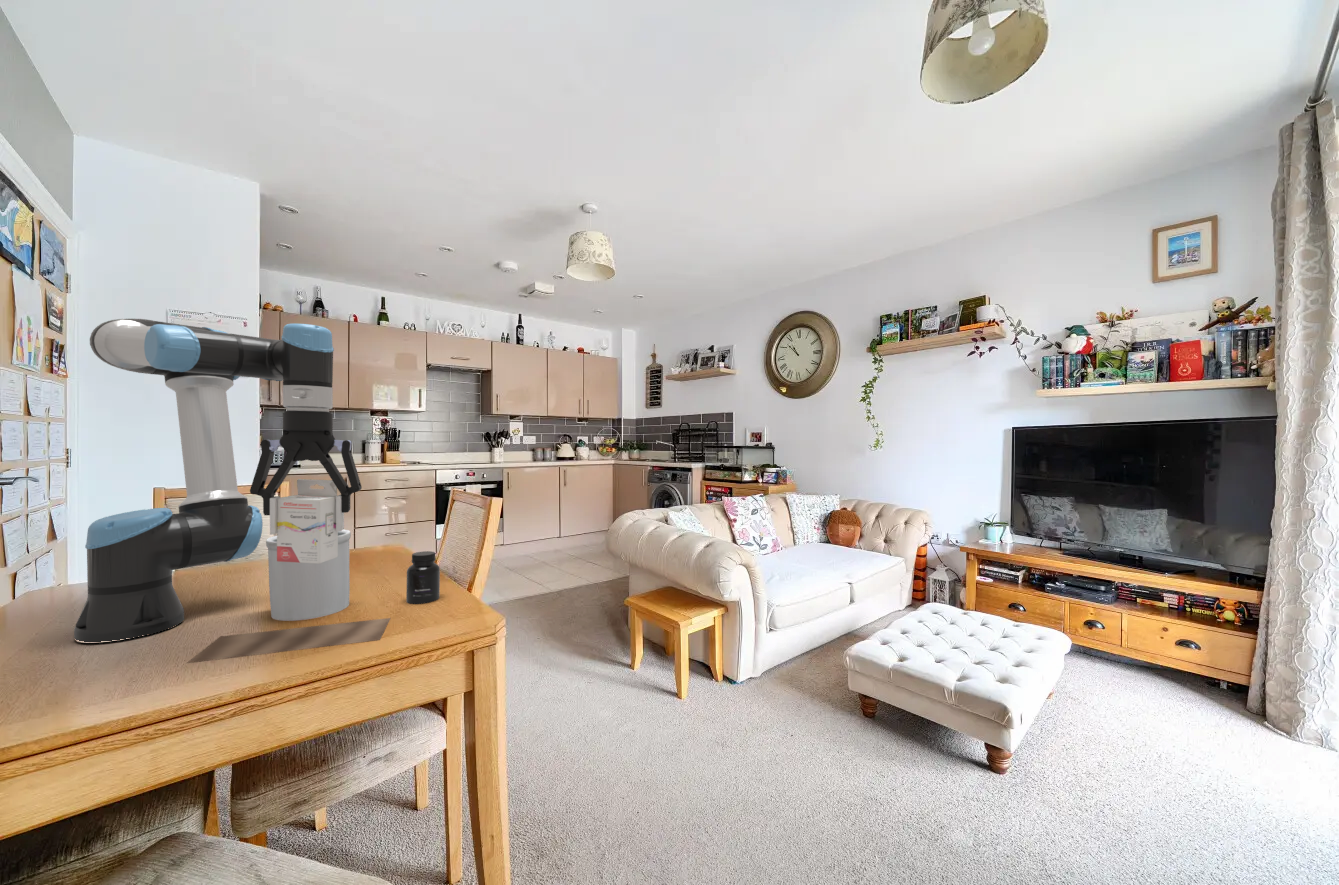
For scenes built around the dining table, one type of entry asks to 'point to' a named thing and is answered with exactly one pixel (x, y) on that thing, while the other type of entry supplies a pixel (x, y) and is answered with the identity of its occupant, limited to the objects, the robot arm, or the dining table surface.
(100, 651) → the dining table surface
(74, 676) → the dining table surface
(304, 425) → the robot arm
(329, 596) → the utensil holder
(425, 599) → the supplement bottle
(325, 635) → the walnut board
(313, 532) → the ink cartridge box
